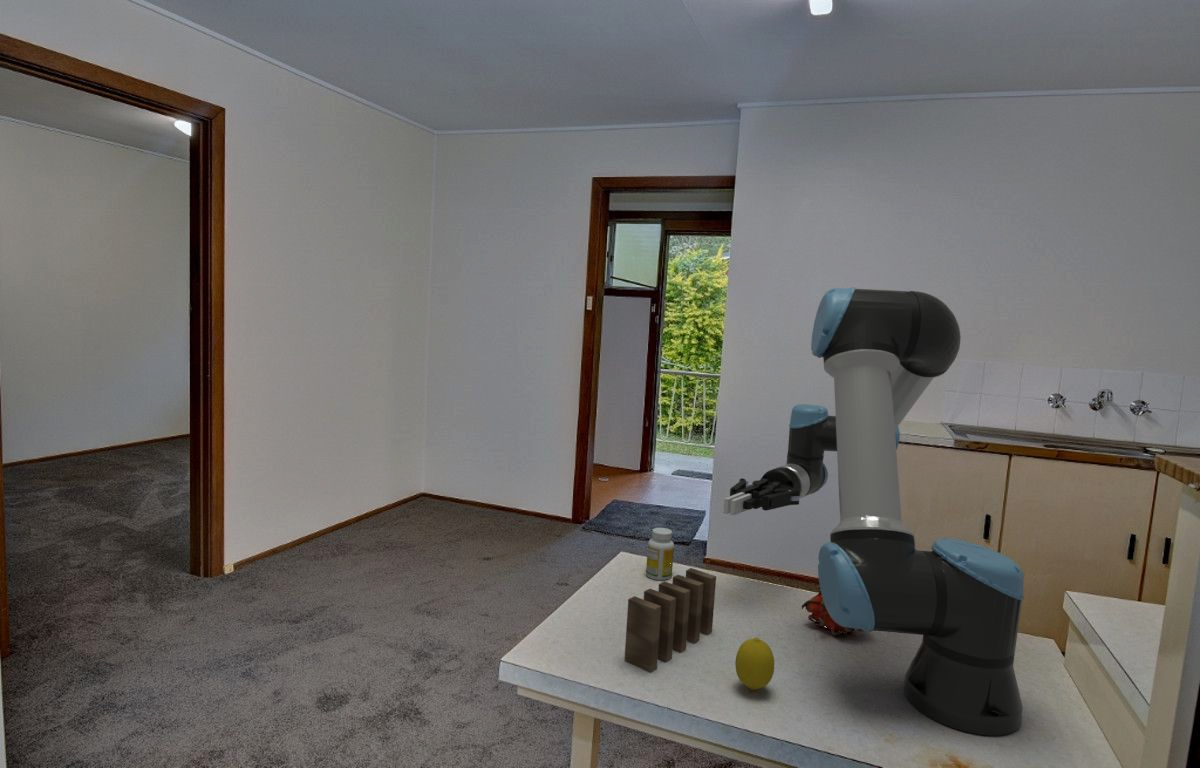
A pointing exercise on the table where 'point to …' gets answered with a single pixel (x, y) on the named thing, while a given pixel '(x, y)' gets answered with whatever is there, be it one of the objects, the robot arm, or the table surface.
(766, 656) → the lemon
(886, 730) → the table surface
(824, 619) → the dragon fruit
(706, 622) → the domino
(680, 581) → the domino
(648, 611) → the domino
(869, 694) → the table surface
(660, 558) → the supplement bottle
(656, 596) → the domino
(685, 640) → the domino
